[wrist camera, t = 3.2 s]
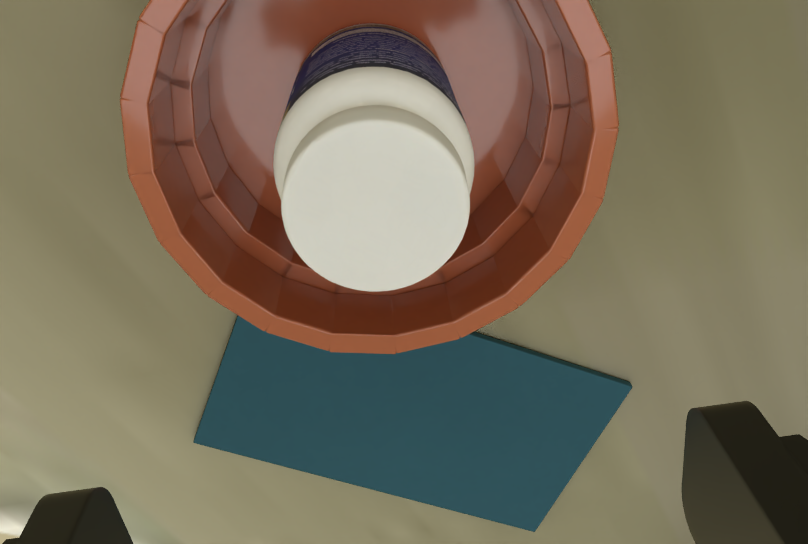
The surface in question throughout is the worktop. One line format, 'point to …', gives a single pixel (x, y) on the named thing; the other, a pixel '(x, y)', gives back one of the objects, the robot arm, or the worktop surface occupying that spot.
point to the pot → (261, 118)
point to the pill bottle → (373, 160)
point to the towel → (415, 419)
